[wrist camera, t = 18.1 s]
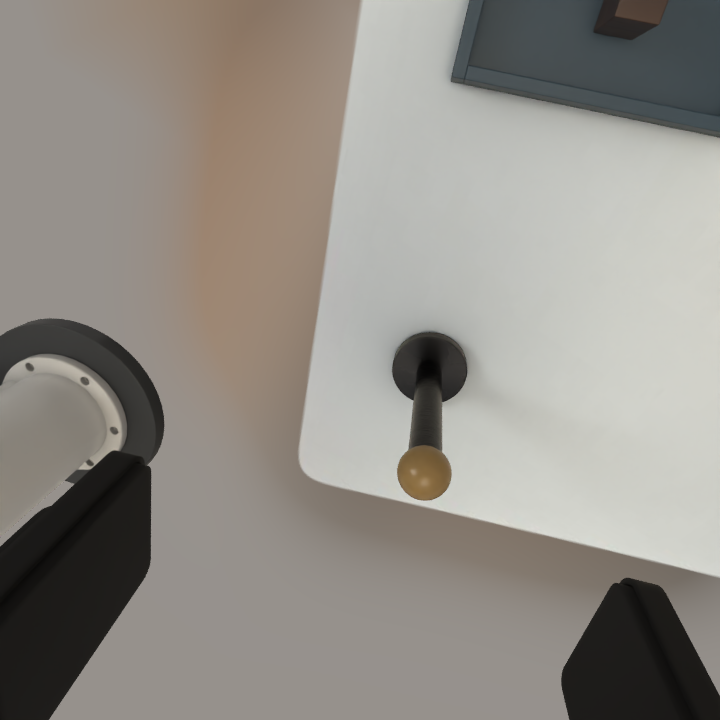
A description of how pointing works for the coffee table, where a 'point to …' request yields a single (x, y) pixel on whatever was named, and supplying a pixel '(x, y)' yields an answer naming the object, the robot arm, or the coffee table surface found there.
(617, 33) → the brown ring with handle
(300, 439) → the coffee table surface
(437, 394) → the black post with ball
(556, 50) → the tray
